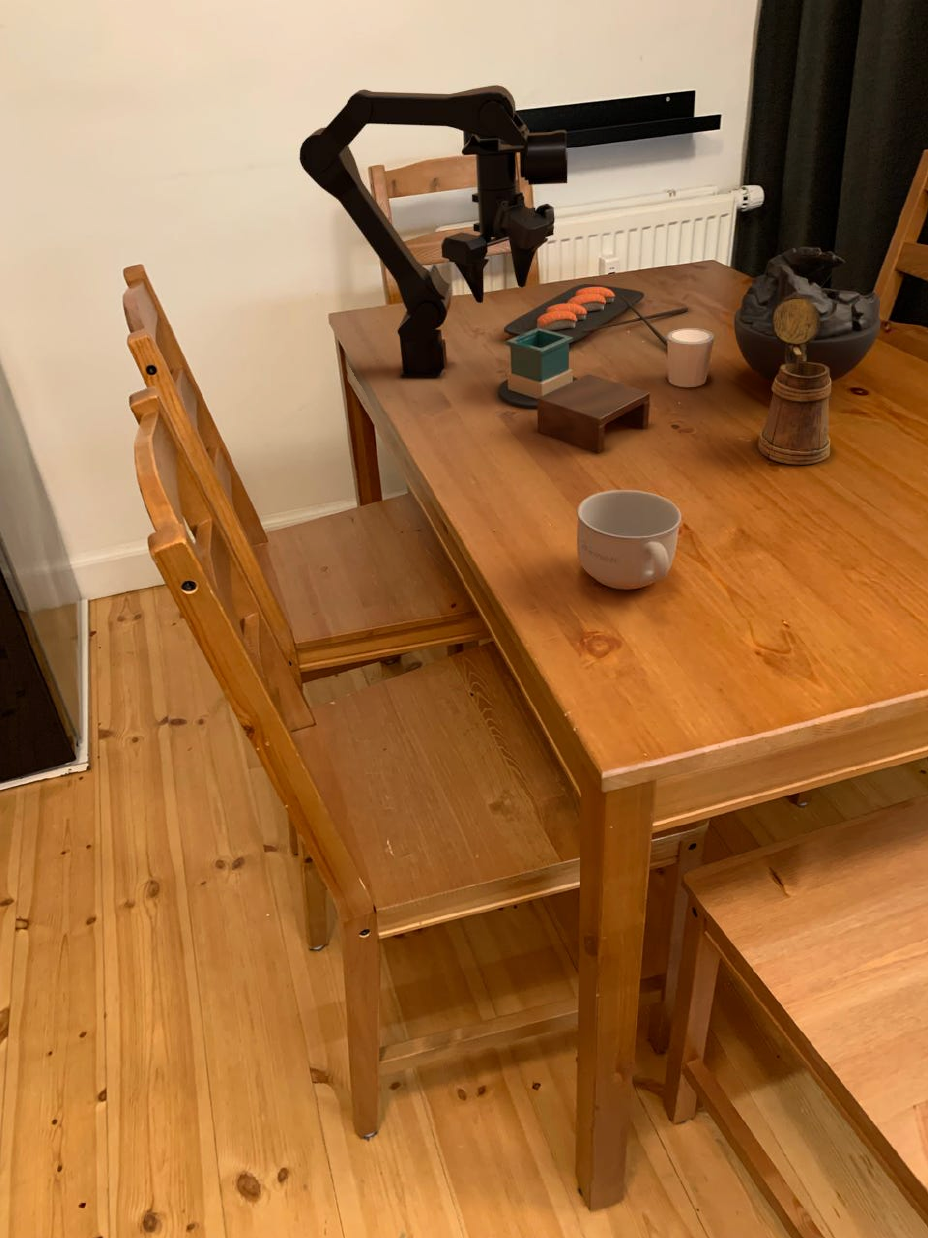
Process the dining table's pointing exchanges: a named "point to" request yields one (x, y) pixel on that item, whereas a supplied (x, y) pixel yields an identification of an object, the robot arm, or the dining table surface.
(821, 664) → the dining table surface
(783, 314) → the wooden mug
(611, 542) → the teacup
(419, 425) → the dining table surface
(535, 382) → the teal rimmed box
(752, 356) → the coal bowl
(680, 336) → the white cup
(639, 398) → the stand
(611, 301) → the sushi plate
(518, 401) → the mat
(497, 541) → the dining table surface
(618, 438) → the dining table surface
